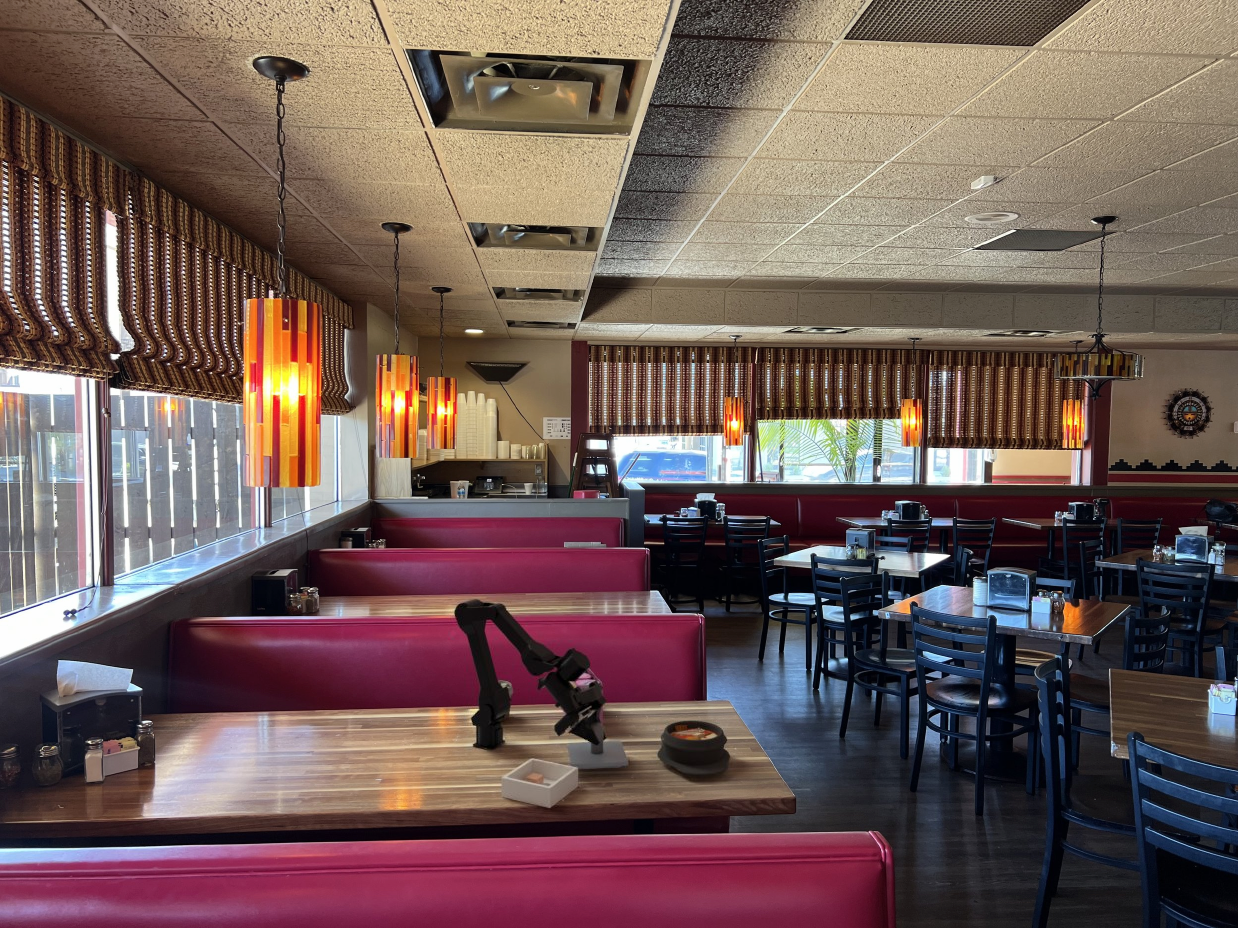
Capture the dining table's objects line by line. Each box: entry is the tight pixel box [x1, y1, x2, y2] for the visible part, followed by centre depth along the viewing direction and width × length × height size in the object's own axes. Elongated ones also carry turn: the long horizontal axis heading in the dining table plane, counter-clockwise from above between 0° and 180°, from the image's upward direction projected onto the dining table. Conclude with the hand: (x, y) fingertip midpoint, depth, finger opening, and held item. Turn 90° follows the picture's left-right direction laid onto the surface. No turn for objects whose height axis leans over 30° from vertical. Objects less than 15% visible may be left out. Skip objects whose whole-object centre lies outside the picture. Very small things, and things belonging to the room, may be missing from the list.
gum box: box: [561, 667, 604, 724], centre depth 248 cm, size 24×8×14 cm, turn 16°
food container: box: [498, 679, 514, 724], centre depth 246 cm, size 12×6×10 cm, turn 168°
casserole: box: [656, 720, 731, 776], centre depth 215 cm, size 25×19×8 cm
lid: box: [566, 722, 629, 770], centre depth 212 cm, size 14×14×9 cm
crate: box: [501, 757, 579, 809], centre depth 197 cm, size 13×13×4 cm
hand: (601, 741), depth 211 cm, fingers closed on lid, 3 cm apart
